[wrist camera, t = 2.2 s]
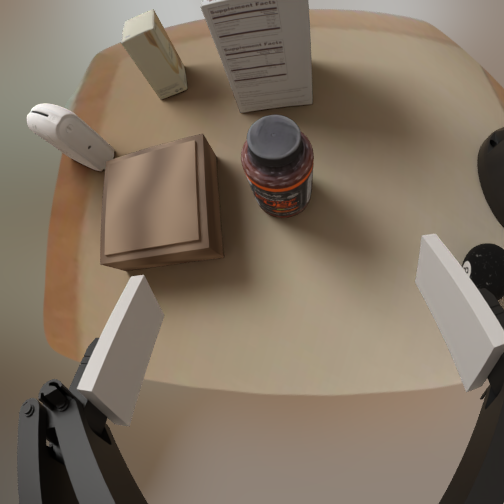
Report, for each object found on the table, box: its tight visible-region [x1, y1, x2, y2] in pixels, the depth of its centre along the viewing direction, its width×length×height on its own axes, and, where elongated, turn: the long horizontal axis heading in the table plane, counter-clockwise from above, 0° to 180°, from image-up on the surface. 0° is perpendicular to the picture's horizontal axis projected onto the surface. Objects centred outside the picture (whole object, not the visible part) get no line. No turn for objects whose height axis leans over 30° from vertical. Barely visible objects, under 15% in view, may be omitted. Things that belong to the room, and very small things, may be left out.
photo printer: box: [27, 103, 115, 171], centre depth 32 cm, size 10×4×12 cm, turn 62°
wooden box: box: [100, 134, 224, 271], centre depth 31 cm, size 12×12×5 cm
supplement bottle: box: [241, 115, 314, 218], centre depth 26 cm, size 6×6×11 cm
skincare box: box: [121, 9, 187, 99], centre depth 32 cm, size 6×4×12 cm
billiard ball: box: [462, 244, 504, 300], centre depth 23 cm, size 6×6×6 cm
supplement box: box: [201, 0, 312, 113], centre depth 26 cm, size 10×9×17 cm
